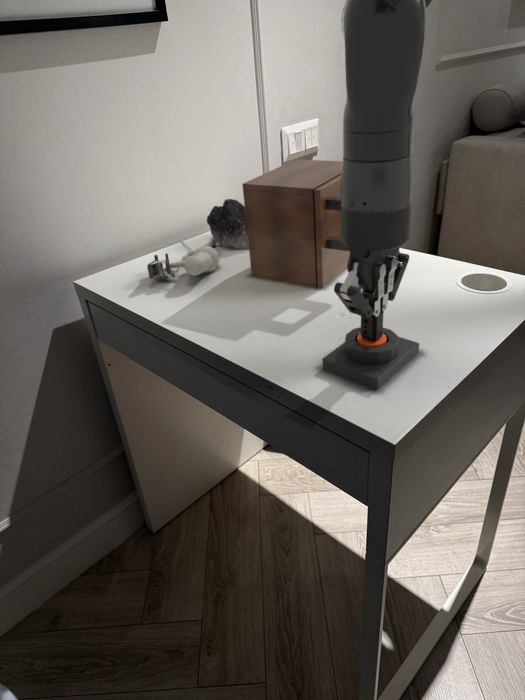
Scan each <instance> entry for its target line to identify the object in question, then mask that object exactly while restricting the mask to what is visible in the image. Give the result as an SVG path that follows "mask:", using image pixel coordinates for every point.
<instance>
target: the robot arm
mask: <svg viewBox="0 0 525 700" xmlns="http://www.w3.org/2000/svg"><path fill="white" fill-rule="evenodd" d="M432 2H433V0H345V3H344V5H343V8H342V12H341V22H340V23H341V25H340V26H341V32H342V37H343V39H344V61H345V62H344V65H345V66H344V67H345V93H346V95H345V96H346V99H345V103H344V107H343V113H342V114H343V116H342V161H343V163H342V171H341V240H342V242H343V243H344V244H345V245H346V246H347V248H348V249H349V251H350V255H349V260H348V264H347V268H346V270H347V272H348V274H347V276H346V277H345V280H344V281H343V282H336V283H335V285H334V287H333V291H334V293H335V294H336V296H337V297H338V298H339V300H340V301H341V302H342V304H343V305H344V306H345V308H346V309H347V311H348V312H349V313H350V314H353V315H356V316H359V317H360V327H361V337H362V338H363V339H365V340H368V341H371V342H376V341H377V340H378V339H380V338H381V337H382V335H383V328H384V312H386V310H387V309H388V305H389V301H390V302H393V301H394V300H395V298H396V295H397V293H398V290H399V287H400V285H401V283H402V280H403V277H404V275H405V272H406V269H407V267H408V264H409V261H410V255H409V254H407V253H403V252H401V251H400V248H401V247H403V246H404V245H406V244H407V243H408V241H409V239H410V236H411V234H410V233H411V222H412V221H411V220H412V205H413V189H414V166H413V151H414V150H413V149H414V134H415V101H416V100H415V99H416V93H417V88H418V83H419V77H420V72H421V65H422V60H423V54H424V46H425V39H426V28H427V27H426V26H427V9H428V8H429V6H430V5H431V3H432Z"/></svg>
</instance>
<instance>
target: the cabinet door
mask: <svg viewBox="0 0 525 700" xmlns="http://www.w3.org/2000/svg"><path fill="white" fill-rule="evenodd" d="M314 193H315V223H316V254H317V284H318V286H317V288H318V289H324V288H325V287H326V286H327V285H329V283H331V282H332V281H333V280H334V279H336V278H337V277H338V276H339V275H340V274H341V273H342V272H343V271H344V270H345V269H347V264H348V260H349V255H350V251H349V249H348V248H347V246H346V245H345V244H344V243H343V242H342V240H341V175H340V176H338V177H336V178H334V179H333V180H331V181H329V182H327V183H326V184H324V185H322V186H320V187H319V188H317V189H315V190H314Z"/></svg>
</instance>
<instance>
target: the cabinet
mask: <svg viewBox="0 0 525 700" xmlns="http://www.w3.org/2000/svg"><path fill="white" fill-rule="evenodd" d="M342 163H343V160H341V161H340V160H321V159H320V160H319V159H318V160H317V159H293V160H292V161H289V162H287V163H285V164H282V165H280V166H279V167H276V168H274V169H272V170H269V171H267V172H266V173H265V172H264V173H263V174H261V175H258V176H256V177H254V178H252V179H250V180H248V181H246V182H244V183H242V193H243V205H244V206H245V214H246V224H247V233H248V243H249V248H248V249H249V250H248V253H249V261H250V262H249V263H250V271H251V277H256V278H262V279H267V280H272V281H278V282H284V283H290V284H296V285H301V286H307V287H313V288H318V284H317V254H316V223H315V193H314V190H315V189H317V188H319V187H320V186H322V185H324V184H326V183H327V182H329V181H331V180H333V179H334V178H336V177H338V176H340V175H341V171H342Z"/></svg>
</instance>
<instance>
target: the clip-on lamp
mask: <svg viewBox="0 0 525 700" xmlns="http://www.w3.org/2000/svg"><path fill="white" fill-rule="evenodd" d="M178 241H179V242H180V244H181V245H182V247H184V248H185V250H186V251H187V252H188V253H189V254H191V256H189V257H186V256H185V255H183V256H182V257H181V260H180V261H178V262H170V258H169V254H168V253H164V255H165V256H164V257H165V259H163V260H159V256H158V254H154V256H153V257H154V260H153V261H151V262H149V263H148V264H147V265H146V266H147V272H148V276H149V279H150V280H153V279H155V278H158V277H168V278H169V279H171V280H172V281H177V280H178V275H177V273H178V272H179V271H180V268H184V271H186V273H187V274H188V275H190V276H193V277H195V276H198V275H201V274H204V273H211V272H214V271H215V270H216V269H217V268H218V266H219V264H220V256H219V253H218V251H217V250H216V248H217V246H221V245H220V243H213V244H212V245H210V246H209V245H201V246H198V247H196V248H195V250H193V249H192V248H191V247H190V246H188V244H186V243H185V242H184V241H183V240H181V238H179V239H178ZM164 264H165V267H164ZM172 269H175V270H173V271H172ZM171 274H172V275H174V277H173V276H172V275H171Z"/></svg>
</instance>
